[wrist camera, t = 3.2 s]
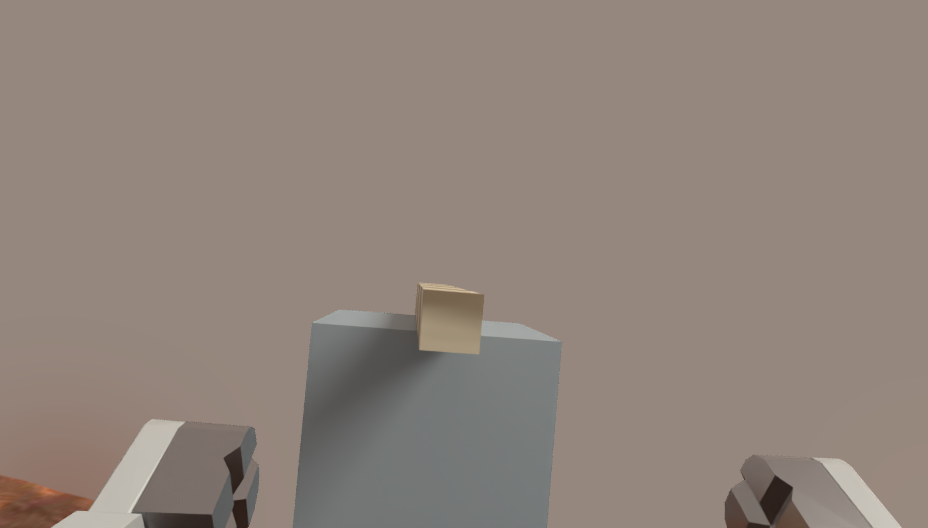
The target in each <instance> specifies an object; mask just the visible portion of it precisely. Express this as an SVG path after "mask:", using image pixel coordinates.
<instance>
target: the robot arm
mask: <svg viewBox="0 0 928 528" xmlns="http://www.w3.org/2000/svg"><path fill="white" fill-rule="evenodd" d="M255 447H256V435H255V429H254V428H253V427H249V426H237V425H224V424H212V423H199V422H188V421H186V422H181V421H168V420H156V419H152V420H150V421H149V422H148V423H146V424H145V425H144V426H143V427H142V428H141V430H140V431H139V433H138V434H137V436H136V437H135V439H134V440H133V442H132V443H131V445H130V447H129V448H128V450H127V451H126V453H125V454H124V456H123V457H122V459H121V460H120V462H119V464H118V465H117V467H116V468H115V470H114V471H113V473H112V475H111V476H110V478H109V479H108V481H107V482H106V484H105V485H104V487H103V489H102V490H101V491H100V493H99V495H98V496H97V498H96V499H95V501H94V502H93V504H92V505H91V507H90V508H89V510H88V511H76V512H74V513H73V514H71V515H70V516H68V517H66V518H65V519H63V520H62V521H60V522H59V523H57V524H56V525H54V526H53V527H51V528H248V527H249V524H250V521H251V518H252V515H253V512H254V508H255V503H256V498H257V493H258V485H259V467H258V464H257V463H256V462H255V461H254V460H253V459H252V455H253V453H254V450H255ZM740 471H741V474H742V476H743V478H744V480H743V481H742V482H740V483H739V484H737V485H736V486H734V487H733V488H731V490H730V492H729V495H728V496H727V499H726V501H725V521H726V525H727V528H901V526H900V525H899V524H898V523H897V522H896V520H895V519H894V518H893V517H892V515H891V514H890V513H889V512H888V511H887V509H886V508H885V507H884V506H883V505H882V503H881V502H880V501H879V500H878V498H877V497H876V496H875V495H874V494H873V492H872V491H871V490H870V489H869V488H868V486H867V485H866V484H865V483H864V481H863V480H862V479H861V478H860V477H859V475H858V474H857V473H856V472H855V471H854V469H853V468H852V467H851V466H850V465H848V464H847V463H846V462H844V461H843V460H841V459H830V458H806V457H790V456H769V455H752V456H751V457H749V458H748V459H746V460H745V462H744V464H743V466H742V468H741V470H740Z"/></svg>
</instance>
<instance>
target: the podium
mask: <svg viewBox="0 0 928 528" xmlns="http://www.w3.org/2000/svg"><path fill="white" fill-rule="evenodd" d="M561 345H562V342H561V341H558V340H556V339H554V338H552V337H550V336H547V335H545V334H543V333H540V332H538V331H536V330H534V329H531V328H529V327H527V326H525V325H522V324H518V323H505V322H492V321H482V327H481V339H480V351H479V354H465V353H451V352H438V351H424V350H419V344H418V334H417V325H416V316H415V315H404V314H391V313H378V312H365V311H353V310H338V311H336V312H334V313H332V314H329V315H327V316H325V317H323V318H321V319H319V320H317V321H315V322H313V323H312V327H311V339H310V349H309V359H308V370H307V381H306V392H305V403H304V414H303V424H302V435H301V446H300V456H299V467H298V479H297V488H296V499H295V510H294V521H293V528H547V521H548V509H549V496H550V483H551V471H552V459H553V446H554V434H555V421H556V409H557V396H558V384H559V371H560V358H561Z"/></svg>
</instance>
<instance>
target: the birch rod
mask: <svg viewBox="0 0 928 528" xmlns="http://www.w3.org/2000/svg"><path fill="white" fill-rule="evenodd" d="M483 304H484V295H483V294H480V293H476V292H472V291H468V290H465V289H460V288H456V287H453V286H449V285H441V284H429V283H418V285H417V296H416V308H415V316H416V325H417V334H418V344H419V350H424V351H438V352H451V353H465V354H479V351H480V339H481V327H482V315H483Z"/></svg>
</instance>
